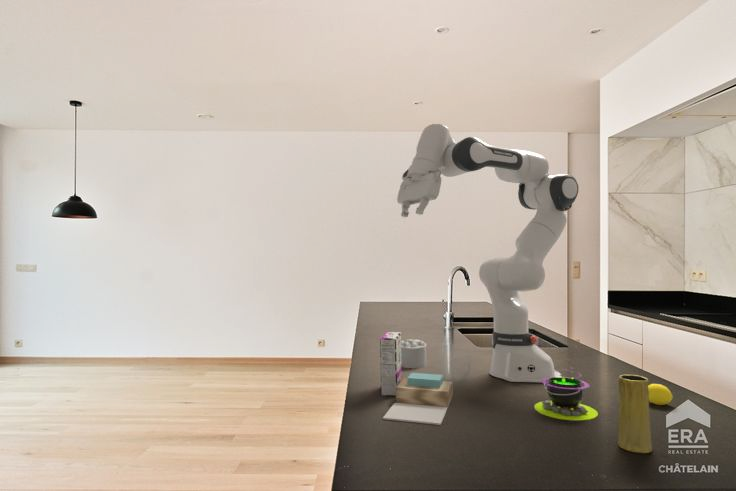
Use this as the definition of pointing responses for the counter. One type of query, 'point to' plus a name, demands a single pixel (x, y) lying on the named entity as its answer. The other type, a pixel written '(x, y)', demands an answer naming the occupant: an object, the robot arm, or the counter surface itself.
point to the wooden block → (424, 394)
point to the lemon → (659, 394)
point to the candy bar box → (390, 362)
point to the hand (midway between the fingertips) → (411, 215)
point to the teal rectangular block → (425, 380)
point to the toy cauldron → (565, 400)
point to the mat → (416, 413)
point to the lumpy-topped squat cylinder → (413, 353)
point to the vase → (634, 414)
